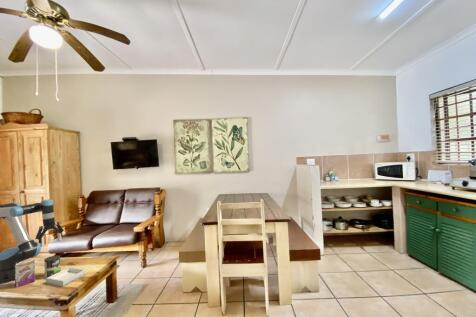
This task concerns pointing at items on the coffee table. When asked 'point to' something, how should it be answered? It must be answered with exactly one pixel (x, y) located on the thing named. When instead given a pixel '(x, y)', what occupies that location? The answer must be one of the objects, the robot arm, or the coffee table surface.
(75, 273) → the tote
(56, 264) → the coffee can
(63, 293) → the coffee table surface
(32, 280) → the candy bar box
